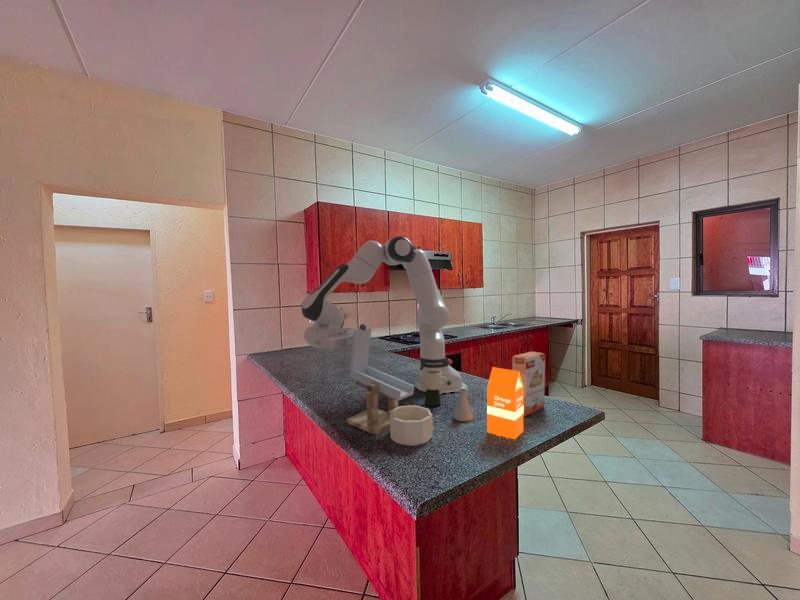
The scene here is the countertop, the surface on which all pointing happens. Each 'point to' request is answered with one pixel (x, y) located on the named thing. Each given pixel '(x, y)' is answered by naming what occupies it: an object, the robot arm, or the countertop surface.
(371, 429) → the trough stand
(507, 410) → the orange juice
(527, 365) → the cracker box
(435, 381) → the character mug
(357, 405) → the countertop surface
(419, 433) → the cup
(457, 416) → the flask
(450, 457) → the countertop surface
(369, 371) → the tipping trough
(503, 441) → the countertop surface
